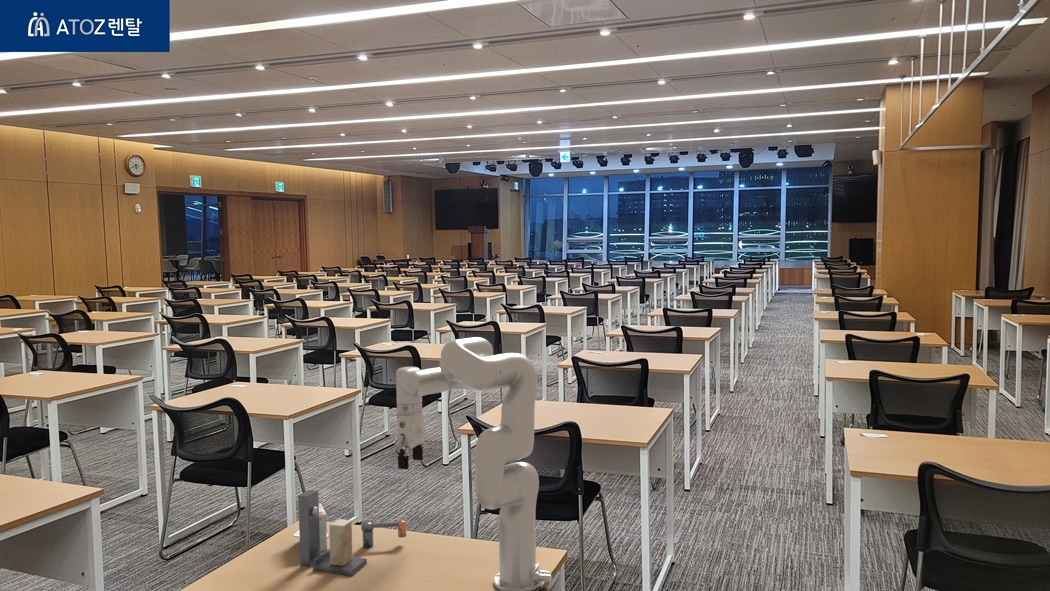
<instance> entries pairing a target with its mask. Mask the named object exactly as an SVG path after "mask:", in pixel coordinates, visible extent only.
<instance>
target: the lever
mask: <svg viewBox="0 0 1050 591" xmlns="http://www.w3.org/2000/svg"><path fill="white" fill-rule="evenodd" d="M392 527H395V528H396V527H397V537H398V538H406V537H407V520H406V519H399V520H398V521H385V522H375V521H373V520H364V521H361V523H360V528H361V531H362V530H363V531H370V530H373V531H374V529H376V528H377V529H378V528H379V529H380V528H392Z"/></svg>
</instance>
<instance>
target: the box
mask: <svg viewBox="0 0 1050 591" xmlns="http://www.w3.org/2000/svg"><path fill="white" fill-rule="evenodd" d="M352 524H353V523H352V520H351V519H342V518H338V519H336V520H335V521H333V522H332V523H330V524H329V549H330V564H332V565H341V566H344V565H345V564H347V563H348V562H349V561H350V560H352V557H353V531H352V530H353V527H352V526H353V525H352Z"/></svg>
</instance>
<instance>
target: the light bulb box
mask: <svg viewBox="0 0 1050 591" xmlns="http://www.w3.org/2000/svg"><path fill="white" fill-rule="evenodd" d="M327 526H328V525H327V512H326V511H325V508H324V507H323V505H322V503H319V534H320V552H323V551H324V552H325V551H326V550H328V535H327V534H328V533H327V532H328V531H327V530H328V528H327Z"/></svg>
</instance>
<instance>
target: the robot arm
mask: <svg viewBox="0 0 1050 591" xmlns="http://www.w3.org/2000/svg"><path fill="white" fill-rule="evenodd" d="M440 351H441V353H440V359H439V362H438V363H439V366H437V367H436V366H435V367H431V368H425V369H420V368H419V367H417V366H404V367H403V366H402V367H399V368H397V370H396V373H395V381H396V382H395V385H396V386H395V387H396V389H395V390H396V414H397V424H396V442H395V444H394V448H395V452H396V456H397V468H398V469H399V470H409V468H410V467H409V462H410V461H409V455H408V453H409V449H412V460H415V461H423V459H424V449H423V447H424V442H425V440H426V437H425V436H426V435H425V434H426V433H425V421H424V414H423V396H427V395H432V394H439V393H444V392H446V391H449V390H452V389H453V388H455V387H457V386H459V385H460V384H462V382H463V383H464V384H465V385H467V386H469V387H470V388H472V389H474V390H477V391H480V392H481V391H484V392H485V391H490V390H496V389H499V388H500V389H501V388H504V387H508V391H507V392H506V394H505V395H504V397H503V398H504V399H503V401H502V404H501V418H500V419H501V421H500V424H499V425H498V426H493V427H490V428H487V429H485V430H483V431H482V432H481V433H480V434H479V436H478V437H477V440H476V442H475V443H476V444H475V448H474V449H475V451H474V454H475V456H474V460H475V461H474V489H475V490H474V492H475V496H476V498H477V501H478V503H479V505H481V506H482V508H484V509H486V510H497V509H500V510H499V515H498V541H499V543H498V545H499V547H498V548H499V552H498V553H499V559H498V560H499V572H498V573H496V574H495V575H494V577H493V584H494V585H493V586H495V588H496V589H498V590H499V591H532V590H533V591H535V589H536V588H537V589H539V588H540V587H541V586H542V584H543V583H552V574H550V571H549V570H542V569H541V568H540V563H537V561H536V558H537V555H536V554H537V552H536V550H537V549H536V548H537V547H536V543H537V542H536V533H537V532H536V510H537V507H536V506H537V500H538V499H537V498H538V493H539V486H540V479H539V478H540V477H539V473H538V472H537V470H536V468H535V467H534V466H533V465H532V464H531V463H529V462H526V461H519V460H521V459H524V458H527V457H528V456H530V455H531V454H532V452H533V450H534V444H535V408H536V407H535V406H536V404H535V403H536V397H537V392H538V390H537V389H538V374H537V373H538V372H537V371H536V370H537V369H536V368H535V366H534V364H533V362H532V361H531V359H530V358H528V357H527V356H526V355H524V354H522V353H518V352H505V353H498V354H494V348H493V346H492V343H490V341H489V340H488V339H485V338H483V337H479V336H474V337H473V336H472V337H466V338H465V337H464V338H457V339H452V340H449V341H448V342H446V343H445V345H444V346H443V347H442V349H441V350H440ZM516 461H517V462H516ZM539 586H540V587H539ZM538 587H539V588H538ZM537 589H536V590H537Z"/></svg>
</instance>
